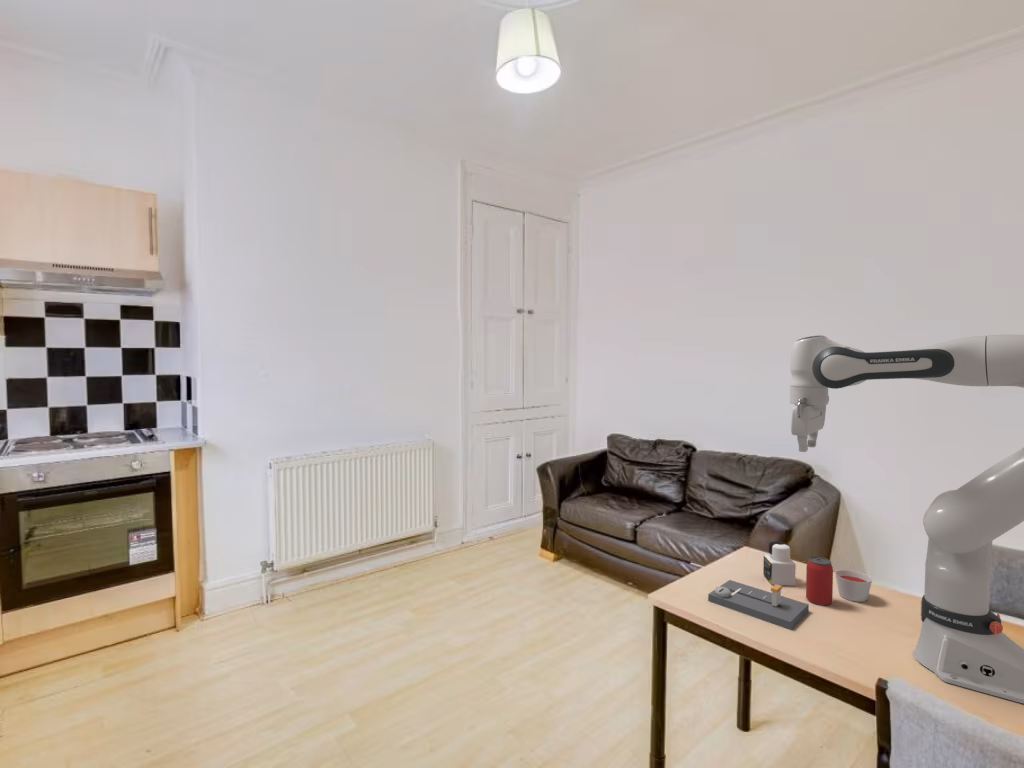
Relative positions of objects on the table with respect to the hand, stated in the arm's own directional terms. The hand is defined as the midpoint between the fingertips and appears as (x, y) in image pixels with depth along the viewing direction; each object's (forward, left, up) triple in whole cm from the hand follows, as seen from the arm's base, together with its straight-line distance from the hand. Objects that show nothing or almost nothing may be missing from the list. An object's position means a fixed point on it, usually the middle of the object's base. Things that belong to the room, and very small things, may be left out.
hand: (807, 449), depth 137 cm
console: (+11, +3, -46) cm, 47 cm away
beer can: (0, -13, -46) cm, 48 cm away
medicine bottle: (+13, -19, -46) cm, 51 cm away
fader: (+6, +3, -44) cm, 44 cm away
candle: (-6, -23, -46) cm, 52 cm away
